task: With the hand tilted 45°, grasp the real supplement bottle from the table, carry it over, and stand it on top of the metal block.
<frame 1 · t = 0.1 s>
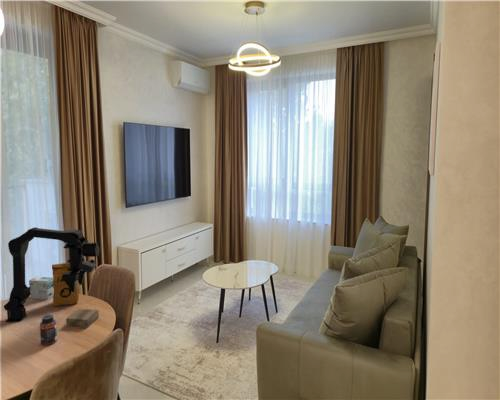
hand: (77, 288, 166), 15 cm above the table, tool pointing down, fingers open, 9 cm apart
light bulb box: (43, 297, 190), on the table
metal block: (83, 322, 162), on the table
supplement bottle: (49, 342, 145), on the table
coffee package: (66, 303, 183), on the table
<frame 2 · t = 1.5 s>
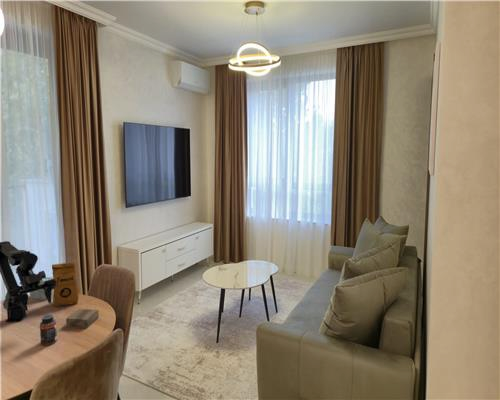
hand: (39, 306, 148), 13 cm above the table, tool tilted 45°, fingers open, 9 cm apart
nothing on the table moved.
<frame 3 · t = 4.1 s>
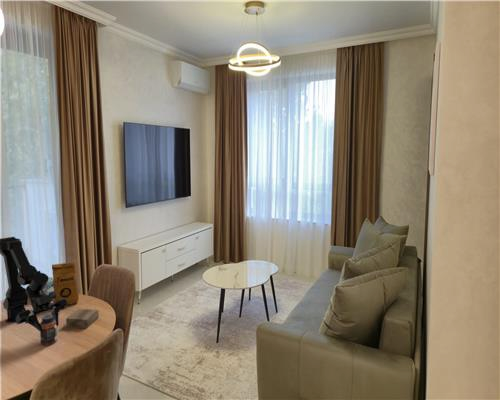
hand: (49, 328, 143), 7 cm above the table, tool tilted 45°, fingers closed on supplement bottle, 6 cm apart
supplement bottle: (49, 342, 145), on the table, touching gripper
everything else where it was.
when the fingers open (12 cm above the table, at t = 9.5 s): supplement bottle drops 1 cm, resting on metal block.
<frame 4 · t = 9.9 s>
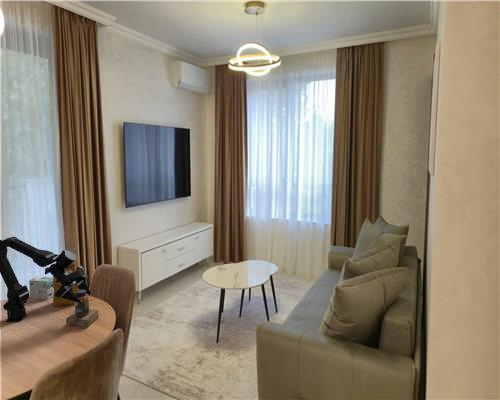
hand: (84, 298, 161), 12 cm above the table, tool tilted 45°, fingers open, 9 cm apart
supplement bottle: (82, 314, 162), point 4 cm above the table, touching metal block
everything else where it was.
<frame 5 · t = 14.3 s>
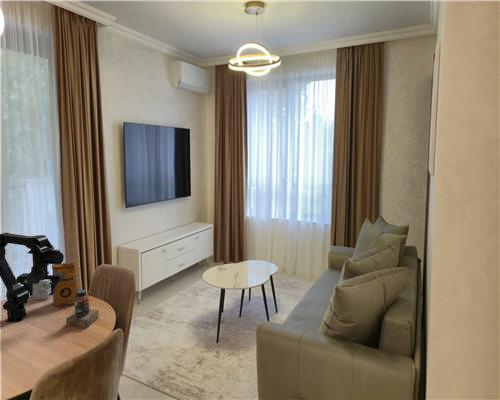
hand: (41, 295, 161), 13 cm above the table, tool pointing down, fingers open, 9 cm apart
nothing on the table moved.
at the end: supplement bottle 0.2 cm off-centre on the metal block, point 3.8 cm above the metal block's base; supplement bottle tilted 0°; the gripper is holding nothing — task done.
